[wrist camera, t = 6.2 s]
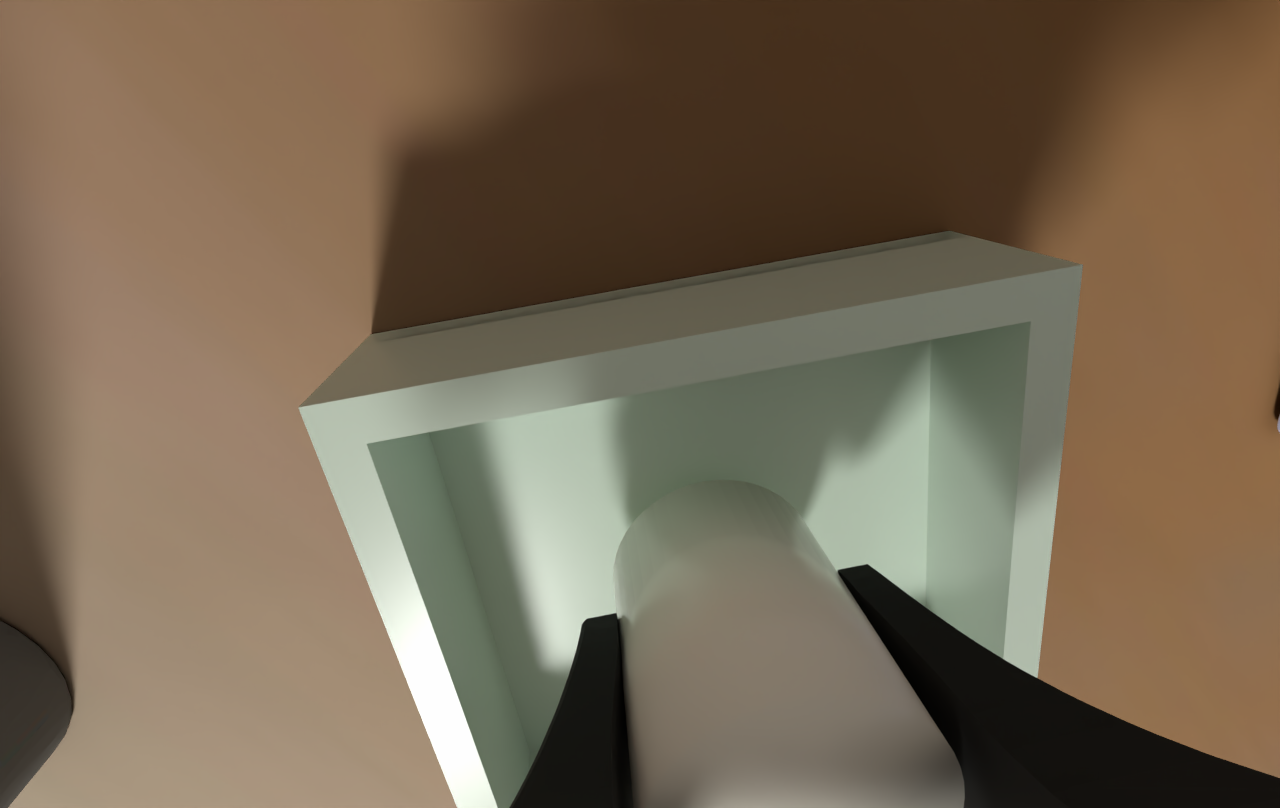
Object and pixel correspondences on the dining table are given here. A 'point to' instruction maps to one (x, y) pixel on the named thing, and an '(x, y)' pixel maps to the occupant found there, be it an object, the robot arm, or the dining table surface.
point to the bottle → (28, 711)
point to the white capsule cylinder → (761, 668)
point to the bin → (697, 458)
